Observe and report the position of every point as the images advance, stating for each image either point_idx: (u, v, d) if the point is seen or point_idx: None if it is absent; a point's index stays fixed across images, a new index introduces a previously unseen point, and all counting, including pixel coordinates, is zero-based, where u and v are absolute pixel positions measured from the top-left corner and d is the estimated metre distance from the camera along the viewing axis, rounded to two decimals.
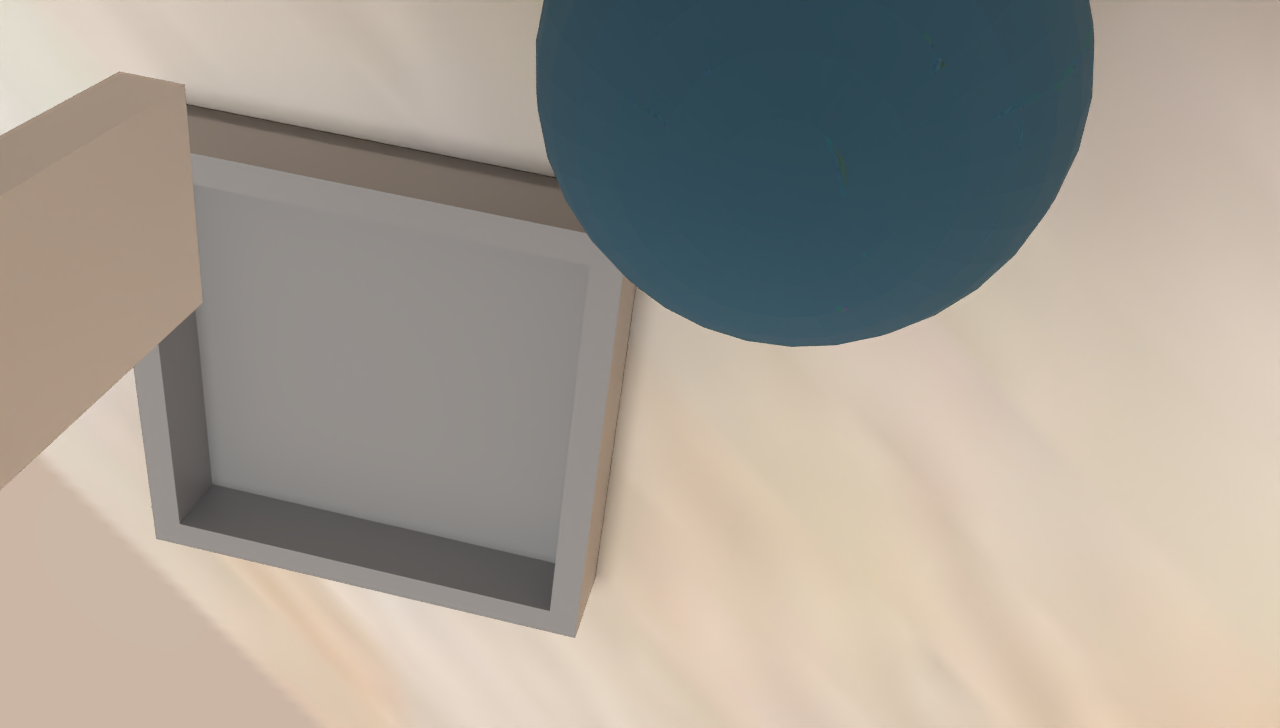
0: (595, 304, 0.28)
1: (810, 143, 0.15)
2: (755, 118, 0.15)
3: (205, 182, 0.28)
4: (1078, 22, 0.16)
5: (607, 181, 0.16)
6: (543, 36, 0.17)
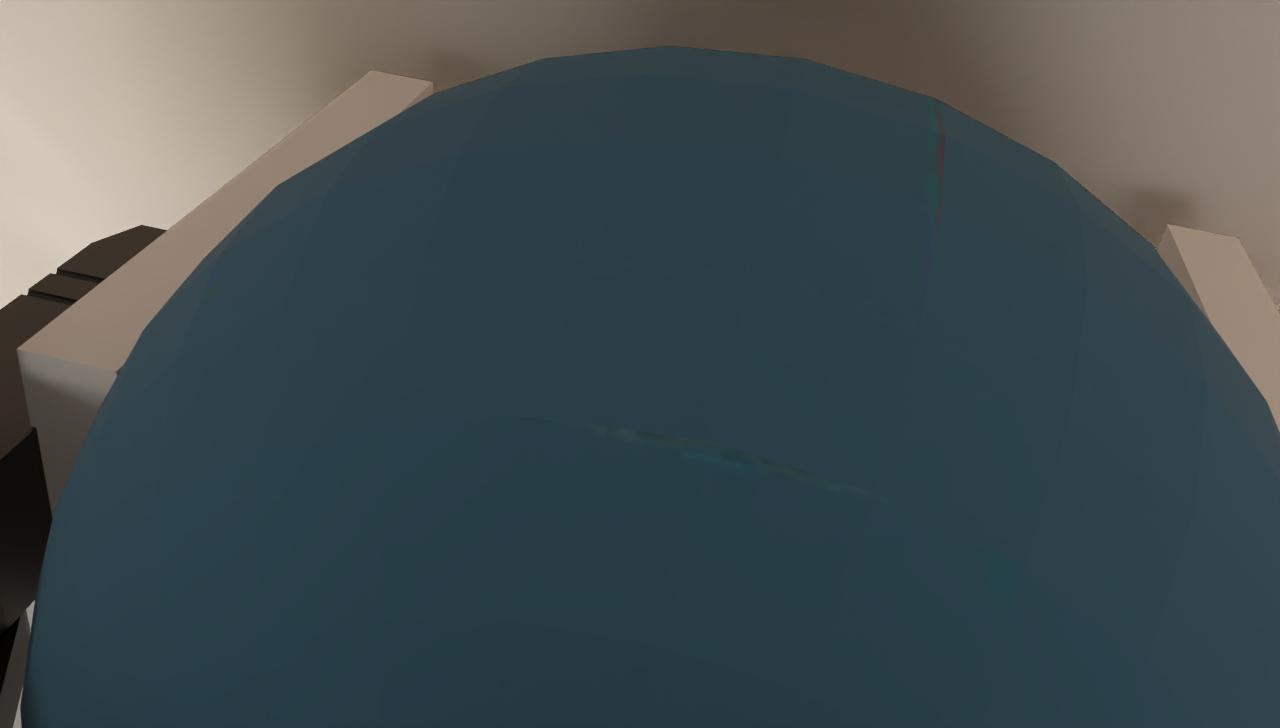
0: None
1: None
2: None
3: None
4: None
5: None
6: None
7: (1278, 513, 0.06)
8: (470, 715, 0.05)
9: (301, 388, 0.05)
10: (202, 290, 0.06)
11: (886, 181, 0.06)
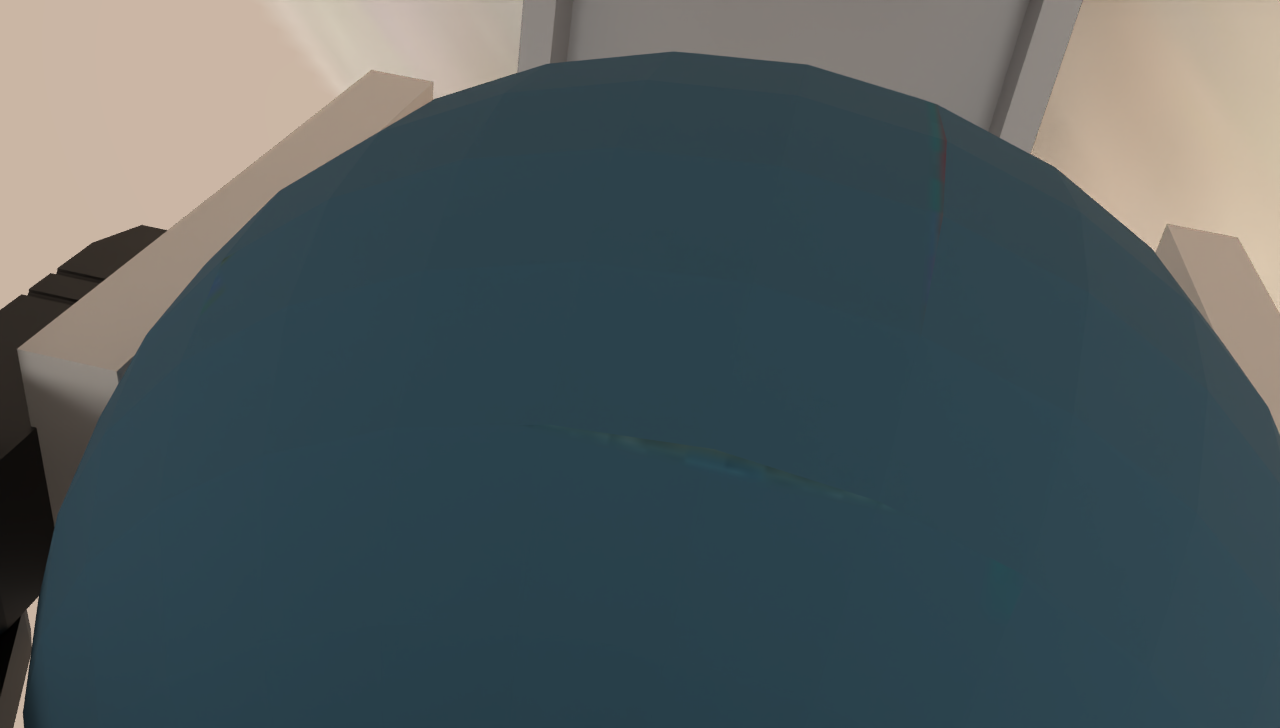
0: None
1: None
2: None
3: None
4: None
5: None
6: None
7: (1279, 519, 0.06)
8: (473, 722, 0.05)
9: (304, 392, 0.05)
10: (204, 296, 0.06)
11: (887, 188, 0.06)
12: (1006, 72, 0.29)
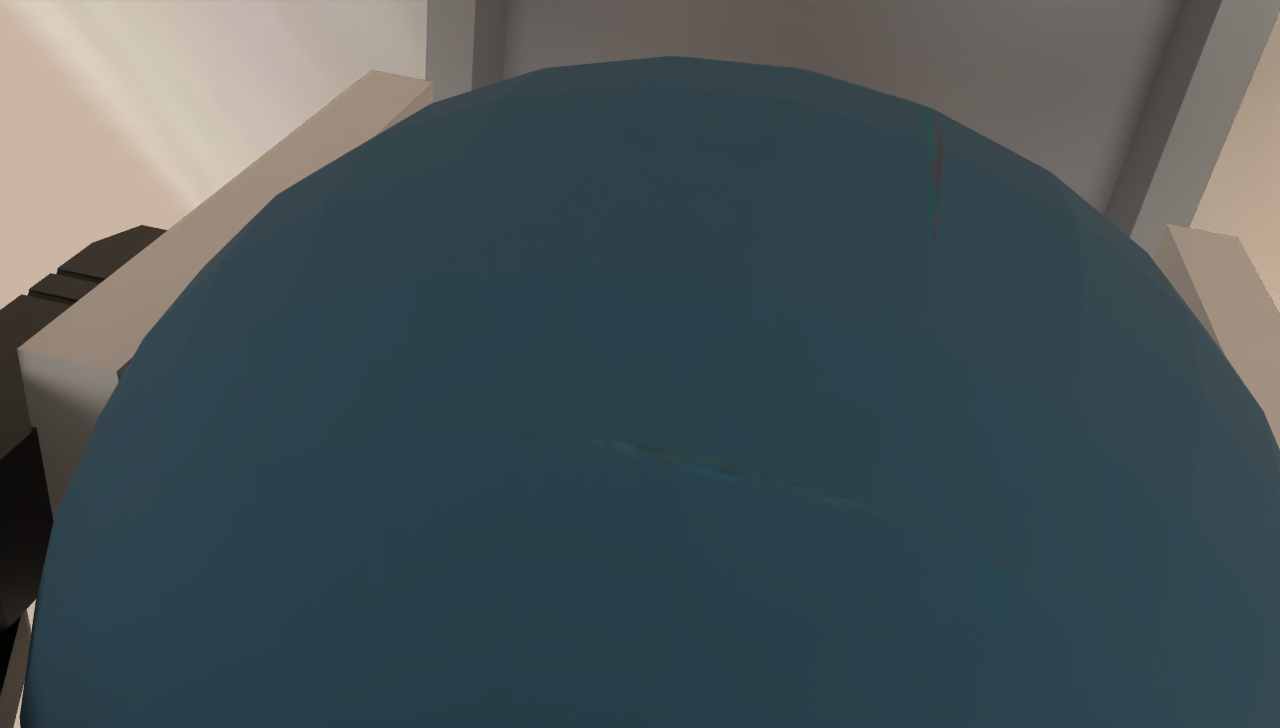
0: None
1: None
2: None
3: None
4: None
5: None
6: None
7: (1274, 524, 0.06)
8: (471, 727, 0.05)
9: (300, 401, 0.05)
10: (201, 301, 0.06)
11: (881, 194, 0.06)
12: (1108, 201, 0.21)
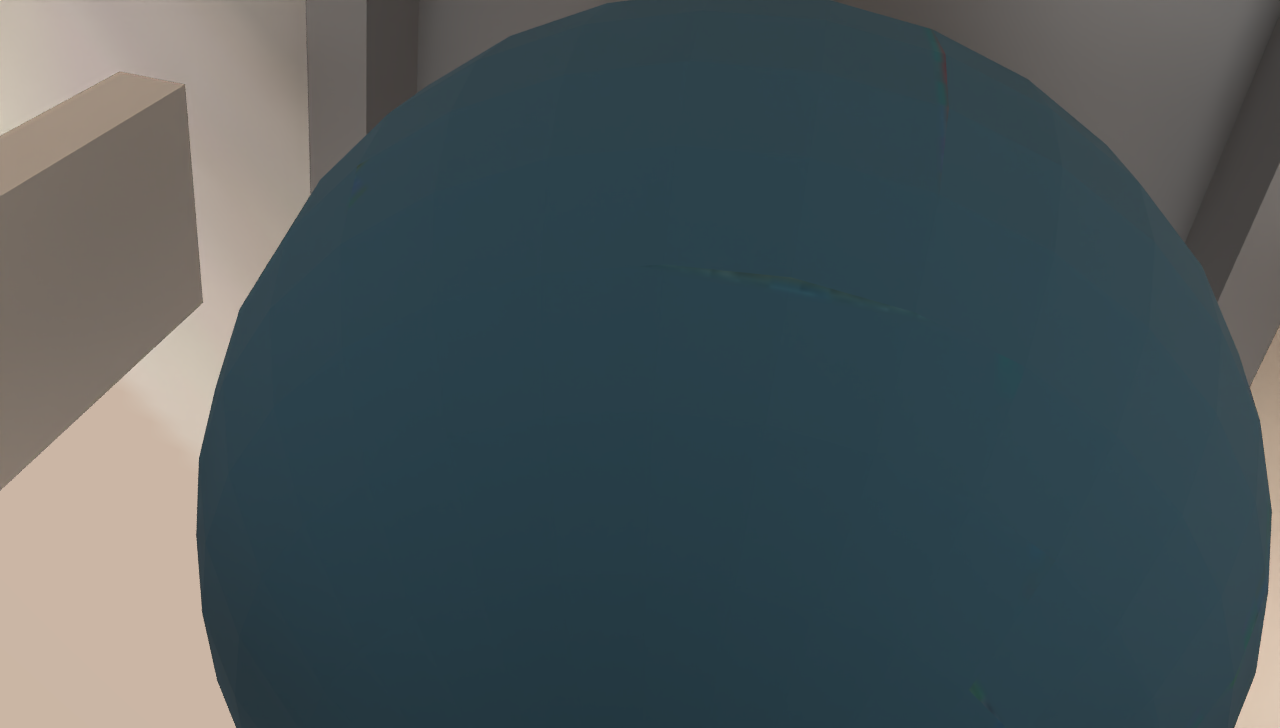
0: None
1: None
2: None
3: None
4: (1263, 519, 0.08)
5: None
6: (197, 504, 0.09)
7: (1211, 342, 0.08)
8: (622, 482, 0.06)
9: (458, 255, 0.07)
10: (348, 194, 0.08)
11: (904, 87, 0.07)
12: None
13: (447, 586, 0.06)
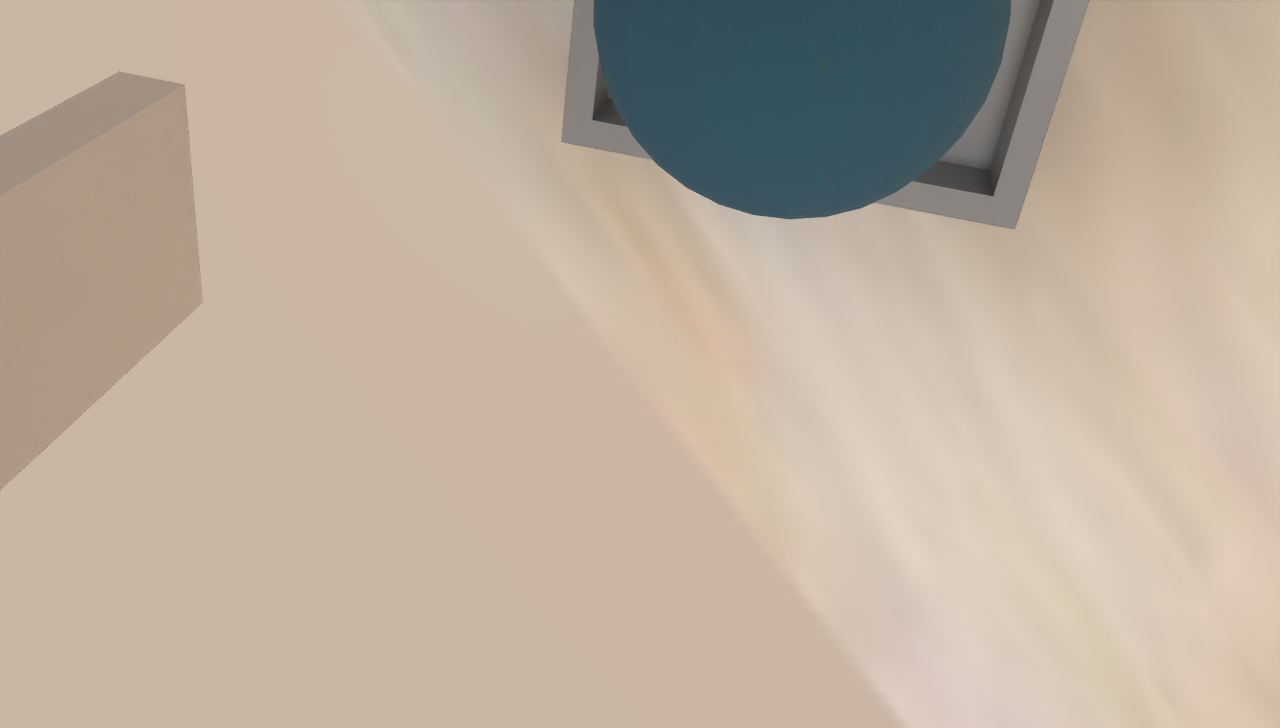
0: None
1: (798, 47, 0.21)
2: (759, 29, 0.21)
3: None
4: None
5: (650, 82, 0.22)
6: None
7: None
8: None
9: None
10: None
11: None
12: (1029, 33, 0.31)
13: None
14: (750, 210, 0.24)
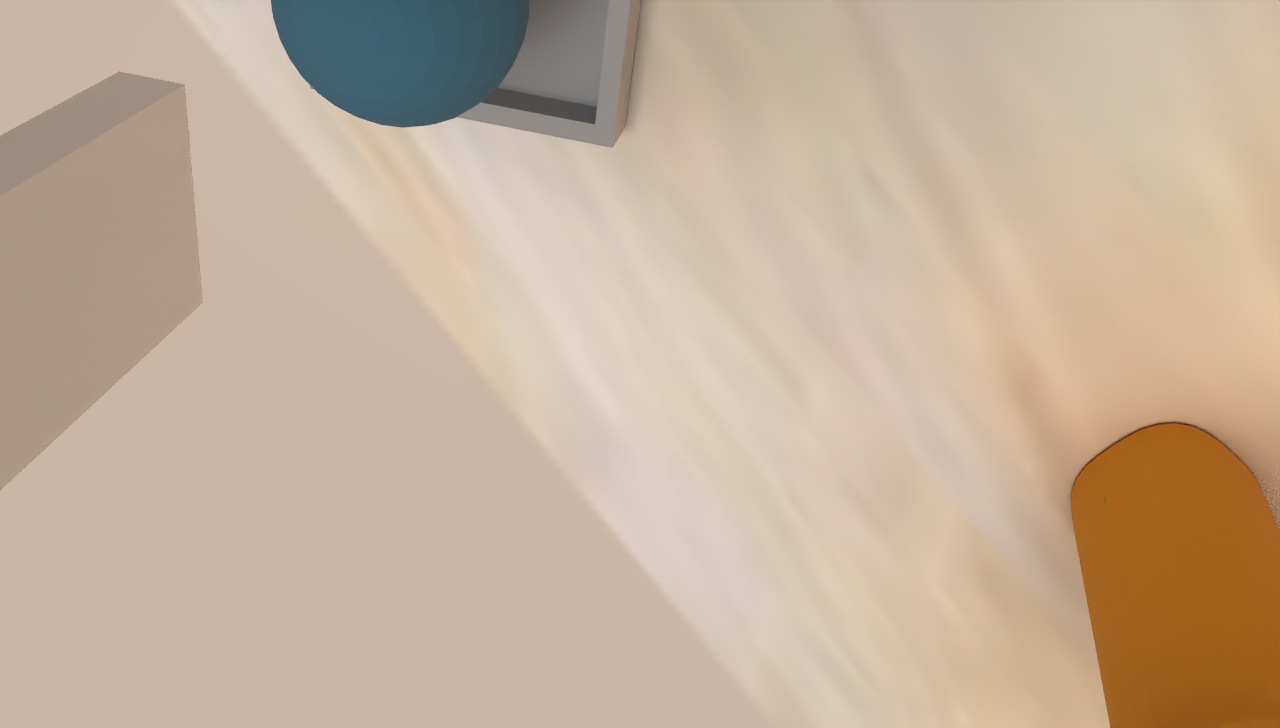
0: None
1: (361, 17, 0.35)
2: (339, 6, 0.35)
3: None
4: None
5: (291, 39, 0.37)
6: None
7: None
8: None
9: None
10: None
11: None
12: None
13: None
14: (371, 120, 0.39)
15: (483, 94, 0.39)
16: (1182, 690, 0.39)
